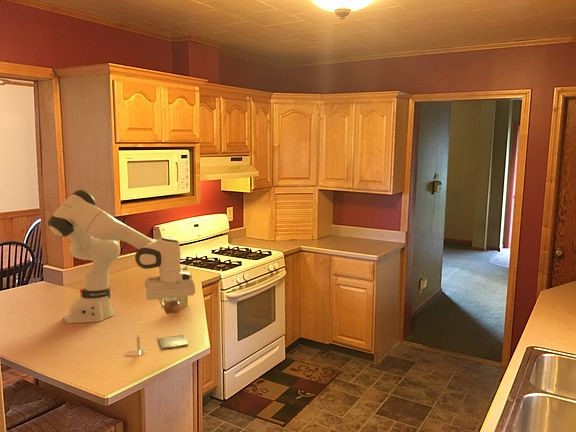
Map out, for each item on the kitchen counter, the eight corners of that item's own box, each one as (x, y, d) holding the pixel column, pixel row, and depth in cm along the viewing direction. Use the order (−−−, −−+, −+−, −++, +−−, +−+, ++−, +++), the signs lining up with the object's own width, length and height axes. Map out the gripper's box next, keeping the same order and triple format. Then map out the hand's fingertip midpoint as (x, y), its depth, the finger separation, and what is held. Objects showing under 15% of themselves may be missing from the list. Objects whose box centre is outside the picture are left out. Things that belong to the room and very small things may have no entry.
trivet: (161, 349, 203) (161, 347, 203) (157, 340, 213) (157, 338, 213) (188, 345, 208) (188, 343, 208) (183, 336, 218) (183, 334, 218)
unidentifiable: (125, 351, 202) (145, 350, 203) (123, 356, 197) (144, 355, 198) (124, 333, 201) (145, 332, 202) (122, 338, 196) (143, 337, 197)
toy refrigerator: (183, 308, 254) (182, 269, 251) (170, 307, 256) (168, 268, 253) (189, 303, 262) (188, 265, 259) (176, 302, 264) (175, 264, 261)
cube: (166, 313, 205) (165, 302, 204) (164, 310, 210) (163, 298, 209) (178, 312, 207) (178, 300, 206) (176, 308, 212) (175, 297, 211)
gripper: (145, 279, 199) (146, 312, 201) (195, 275, 207) (196, 306, 209) (143, 276, 205) (144, 308, 207) (192, 271, 213) (193, 302, 215)
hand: (171, 307), depth 208 cm, fingers closed on cube, 5 cm apart
